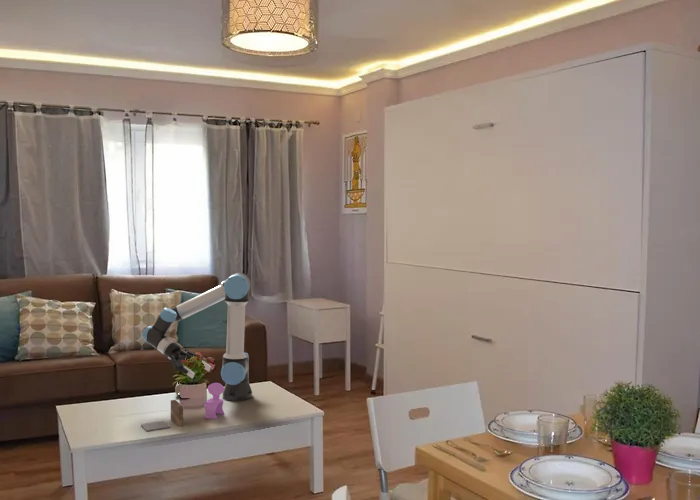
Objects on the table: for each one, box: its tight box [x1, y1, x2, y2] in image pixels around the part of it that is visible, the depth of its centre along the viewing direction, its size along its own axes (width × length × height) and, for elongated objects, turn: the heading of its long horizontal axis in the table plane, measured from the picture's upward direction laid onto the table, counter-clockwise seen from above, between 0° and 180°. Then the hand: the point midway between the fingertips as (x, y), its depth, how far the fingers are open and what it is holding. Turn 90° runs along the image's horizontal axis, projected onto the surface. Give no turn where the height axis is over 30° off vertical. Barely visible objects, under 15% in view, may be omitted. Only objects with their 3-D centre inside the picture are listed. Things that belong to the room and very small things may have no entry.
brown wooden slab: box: [170, 399, 184, 427], centre depth 297 cm, size 2×12×9 cm, turn 32°
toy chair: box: [204, 382, 226, 420], centre depth 308 cm, size 8×9×15 cm
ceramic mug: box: [174, 382, 179, 396], centre depth 345 cm, size 11×8×8 cm
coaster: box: [140, 420, 171, 432], centre depth 292 cm, size 10×10×1 cm
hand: (202, 372), depth 316 cm, fingers open, 13 cm apart
